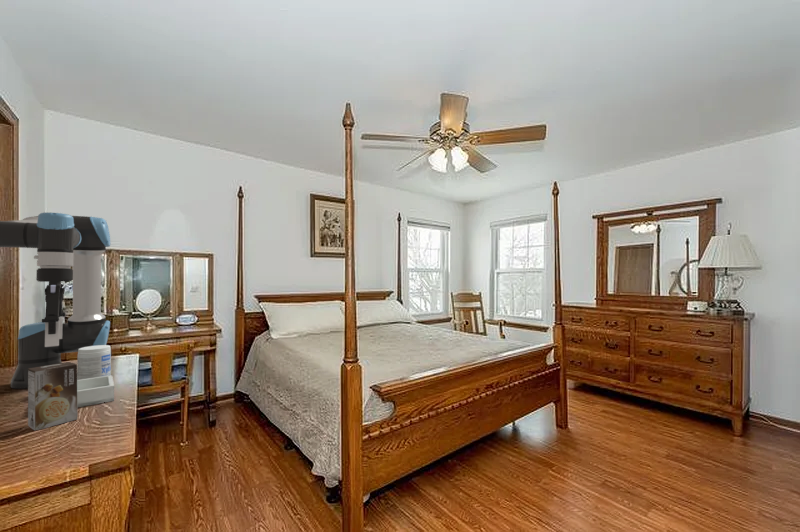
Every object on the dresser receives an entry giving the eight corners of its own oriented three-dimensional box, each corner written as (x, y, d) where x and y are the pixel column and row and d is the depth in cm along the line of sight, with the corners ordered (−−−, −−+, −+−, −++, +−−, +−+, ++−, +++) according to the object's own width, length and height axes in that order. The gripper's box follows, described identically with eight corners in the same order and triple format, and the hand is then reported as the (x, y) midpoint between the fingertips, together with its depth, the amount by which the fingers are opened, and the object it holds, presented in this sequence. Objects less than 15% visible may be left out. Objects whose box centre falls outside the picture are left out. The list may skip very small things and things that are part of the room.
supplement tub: (108, 388, 133) (109, 348, 133) (74, 393, 128) (75, 351, 128) (111, 381, 141) (112, 343, 141) (79, 385, 136) (80, 346, 136)
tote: (51, 398, 122) (51, 383, 122) (112, 388, 132) (112, 375, 132) (46, 412, 110) (47, 396, 110) (114, 400, 120) (114, 385, 120)
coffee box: (69, 415, 108) (70, 361, 108) (77, 419, 105) (78, 363, 105) (26, 426, 100) (27, 367, 101) (33, 431, 97) (34, 371, 97)
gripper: (41, 268, 110) (40, 338, 110) (30, 266, 91) (29, 351, 91) (74, 268, 115) (73, 335, 115) (71, 267, 96) (69, 347, 96)
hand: (54, 342), depth 103 cm, fingers open, 13 cm apart
